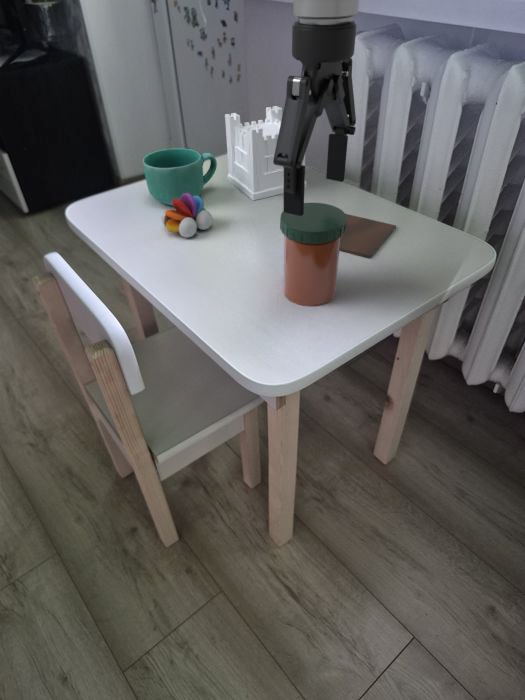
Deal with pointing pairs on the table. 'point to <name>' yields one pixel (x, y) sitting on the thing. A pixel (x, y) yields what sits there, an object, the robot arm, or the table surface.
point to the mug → (176, 173)
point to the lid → (314, 224)
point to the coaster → (364, 236)
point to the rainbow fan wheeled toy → (187, 216)
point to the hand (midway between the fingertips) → (315, 195)
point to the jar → (310, 271)
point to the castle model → (255, 155)
